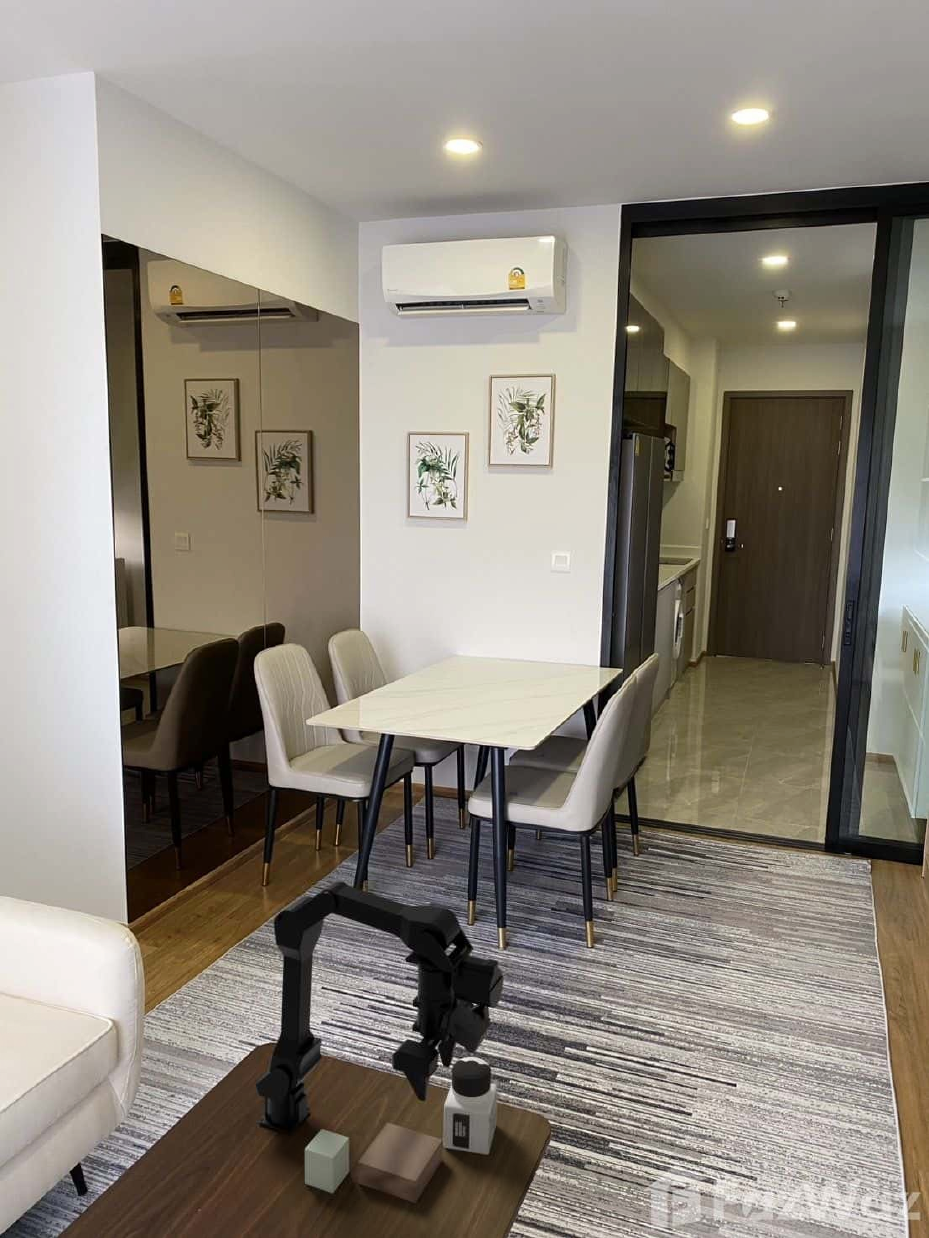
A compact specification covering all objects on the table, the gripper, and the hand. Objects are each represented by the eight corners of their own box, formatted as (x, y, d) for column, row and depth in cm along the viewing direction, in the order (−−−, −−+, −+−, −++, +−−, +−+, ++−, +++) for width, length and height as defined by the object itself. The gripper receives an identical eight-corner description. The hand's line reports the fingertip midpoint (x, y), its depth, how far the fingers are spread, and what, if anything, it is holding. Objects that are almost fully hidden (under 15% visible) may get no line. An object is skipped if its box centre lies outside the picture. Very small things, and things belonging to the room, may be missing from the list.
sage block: (304, 1183, 145) (304, 1148, 144) (321, 1162, 149) (321, 1128, 148) (332, 1193, 143) (332, 1158, 142) (348, 1172, 147) (348, 1137, 146)
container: (488, 1155, 151) (490, 1082, 150) (442, 1148, 153) (443, 1076, 151) (496, 1124, 159) (498, 1054, 157) (452, 1117, 160) (453, 1048, 159)
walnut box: (357, 1185, 145) (358, 1161, 144) (387, 1144, 154) (387, 1122, 154) (415, 1204, 141) (415, 1181, 141) (442, 1161, 150) (442, 1139, 150)
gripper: (459, 1035, 133) (457, 1134, 135) (505, 974, 150) (502, 1063, 152) (390, 1016, 137) (390, 1113, 139) (442, 959, 154) (441, 1046, 156)
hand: (434, 1082), depth 147 cm, fingers open, 9 cm apart
